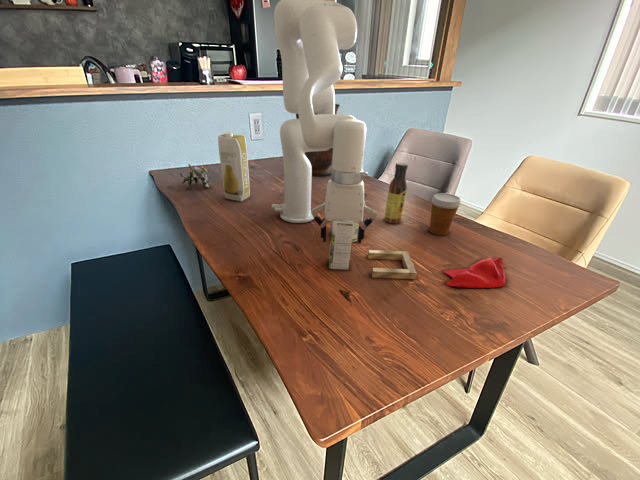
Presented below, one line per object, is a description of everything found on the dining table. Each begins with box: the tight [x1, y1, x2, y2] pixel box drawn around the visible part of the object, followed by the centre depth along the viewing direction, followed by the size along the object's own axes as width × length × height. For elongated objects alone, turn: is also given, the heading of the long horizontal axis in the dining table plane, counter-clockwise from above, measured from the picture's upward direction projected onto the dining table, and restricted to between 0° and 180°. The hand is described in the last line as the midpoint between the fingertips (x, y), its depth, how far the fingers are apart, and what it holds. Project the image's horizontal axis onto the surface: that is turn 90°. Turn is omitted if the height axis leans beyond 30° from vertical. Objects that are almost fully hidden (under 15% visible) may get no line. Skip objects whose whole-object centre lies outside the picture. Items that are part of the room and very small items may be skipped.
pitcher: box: [295, 103, 341, 177], centre depth 168 cm, size 17×21×30 cm
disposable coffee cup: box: [428, 192, 462, 236], centre depth 124 cm, size 10×10×12 cm
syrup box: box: [328, 220, 354, 271], centre depth 101 cm, size 6×6×14 cm
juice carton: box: [217, 131, 251, 202], centre depth 139 cm, size 9×8×24 cm
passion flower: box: [179, 163, 210, 189], centre depth 151 cm, size 11×11×12 cm
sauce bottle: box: [384, 162, 409, 224], centre depth 128 cm, size 7×6×20 cm
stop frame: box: [367, 249, 418, 280], centre depth 105 cm, size 12×13×2 cm
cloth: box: [443, 257, 506, 289], centre depth 103 cm, size 26×14×2 cm, turn 120°
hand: (341, 240), depth 100 cm, fingers open, 9 cm apart
